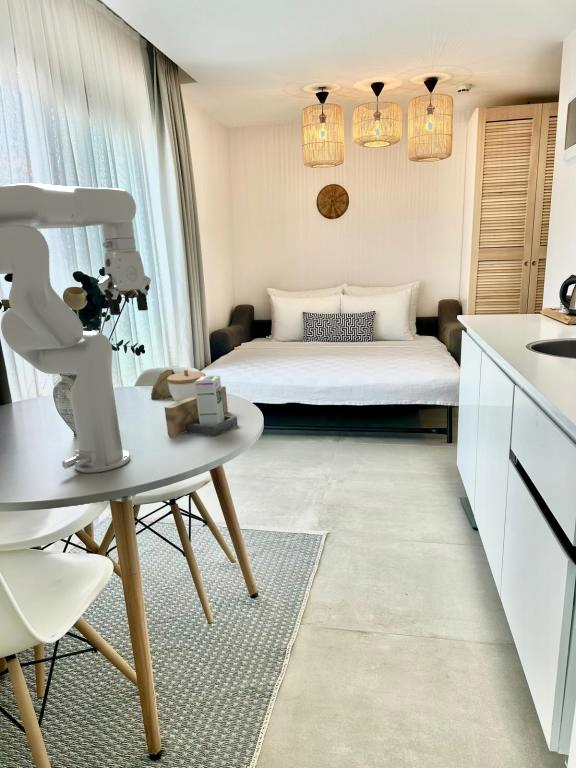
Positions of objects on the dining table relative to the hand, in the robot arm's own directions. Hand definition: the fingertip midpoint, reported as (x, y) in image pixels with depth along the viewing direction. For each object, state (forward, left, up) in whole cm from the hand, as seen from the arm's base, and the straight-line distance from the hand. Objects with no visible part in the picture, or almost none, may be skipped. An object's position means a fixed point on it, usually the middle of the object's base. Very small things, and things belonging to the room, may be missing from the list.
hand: (129, 312), depth 140 cm
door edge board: (+11, -10, -33) cm, 37 cm away
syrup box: (+8, -18, -34) cm, 39 cm away
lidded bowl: (+28, +8, -34) cm, 44 cm away
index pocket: (+8, -18, -33) cm, 38 cm away
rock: (+32, +22, -34) cm, 51 cm away
